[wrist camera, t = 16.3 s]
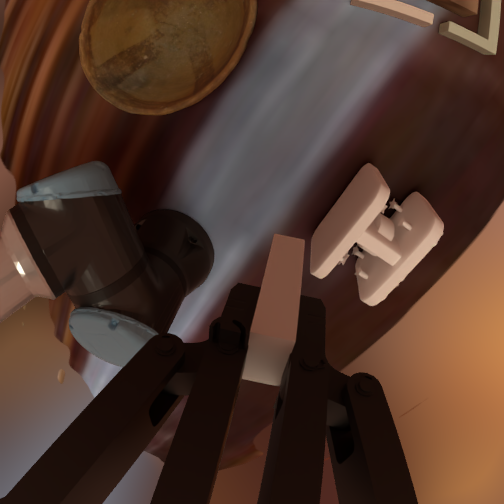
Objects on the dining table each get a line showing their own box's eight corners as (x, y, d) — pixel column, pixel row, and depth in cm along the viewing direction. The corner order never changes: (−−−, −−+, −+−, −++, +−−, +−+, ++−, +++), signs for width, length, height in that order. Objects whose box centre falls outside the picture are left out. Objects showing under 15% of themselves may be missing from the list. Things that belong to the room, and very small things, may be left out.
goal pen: (438, 33, 29) (448, 31, 26) (445, -46, 21) (454, -53, 18) (483, 54, 28) (495, 54, 25) (490, -23, 20) (501, -27, 17)
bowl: (95, 29, 35) (52, 28, 27) (216, -64, 26) (191, -92, 18) (165, 133, 43) (131, 151, 35) (304, 48, 34) (302, 40, 26)
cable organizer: (368, 152, 40) (386, 180, 30) (424, 194, 41) (451, 233, 31) (309, 232, 48) (307, 278, 38) (363, 266, 49) (372, 315, 40)
